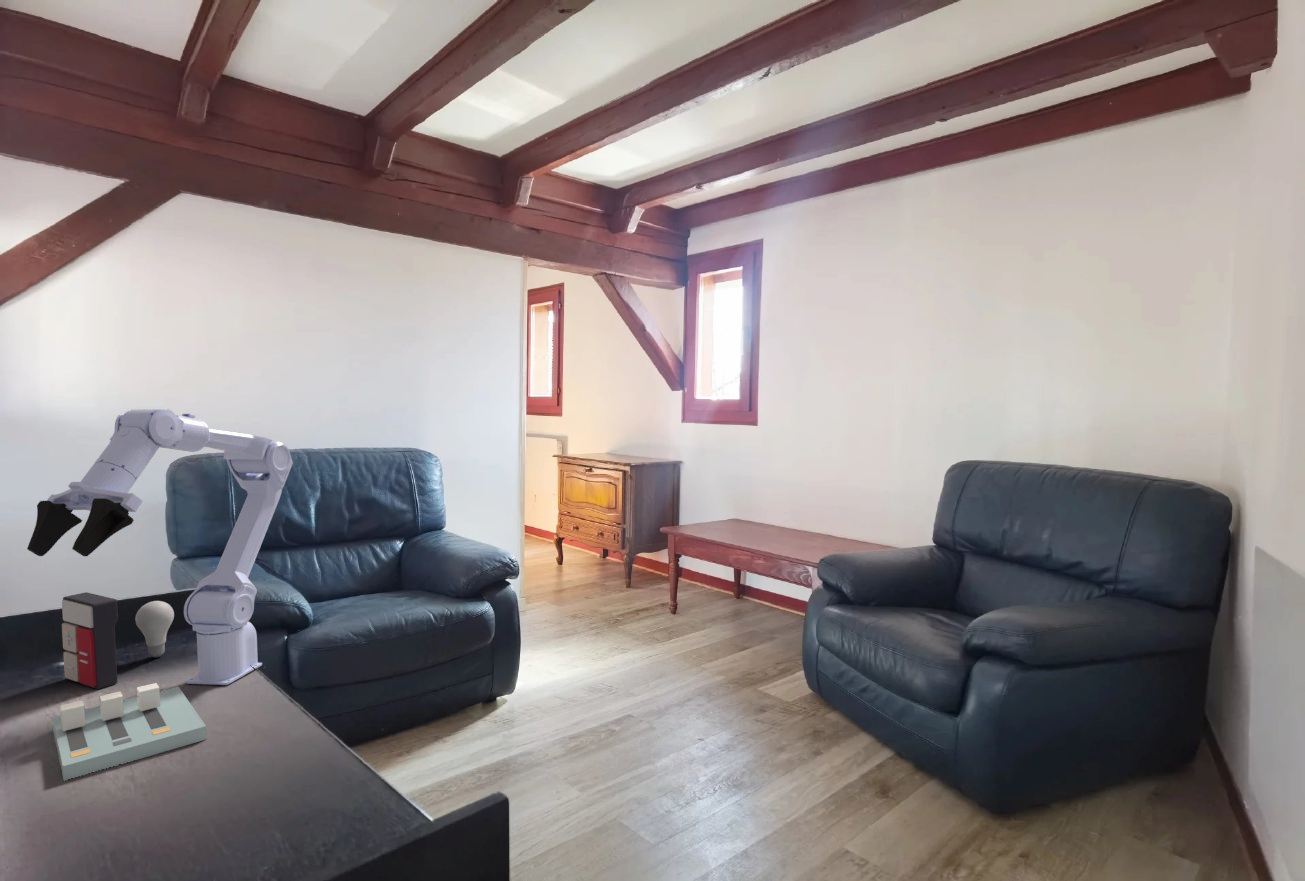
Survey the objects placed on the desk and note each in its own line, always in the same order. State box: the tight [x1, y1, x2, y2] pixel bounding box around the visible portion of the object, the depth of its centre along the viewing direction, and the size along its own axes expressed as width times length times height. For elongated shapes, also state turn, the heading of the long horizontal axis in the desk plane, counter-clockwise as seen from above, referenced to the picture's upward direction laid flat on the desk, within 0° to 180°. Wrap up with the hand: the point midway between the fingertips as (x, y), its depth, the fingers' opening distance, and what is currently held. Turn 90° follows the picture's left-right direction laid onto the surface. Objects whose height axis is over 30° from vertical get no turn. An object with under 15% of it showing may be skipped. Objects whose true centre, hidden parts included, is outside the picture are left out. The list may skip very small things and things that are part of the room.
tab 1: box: [59, 699, 85, 731], centre depth 101 cm, size 2×2×3 cm
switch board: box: [51, 686, 208, 782], centre depth 103 cm, size 20×16×2 cm
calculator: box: [61, 591, 119, 690], centre depth 123 cm, size 11×4×15 cm, turn 62°
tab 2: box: [99, 690, 124, 721], centre depth 104 cm, size 2×2×3 cm
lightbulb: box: [135, 600, 175, 658], centre depth 135 cm, size 6×6×11 cm
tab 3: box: [136, 682, 160, 712], centre depth 107 cm, size 2×2×3 cm
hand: (57, 552), depth 96 cm, fingers open, 7 cm apart
